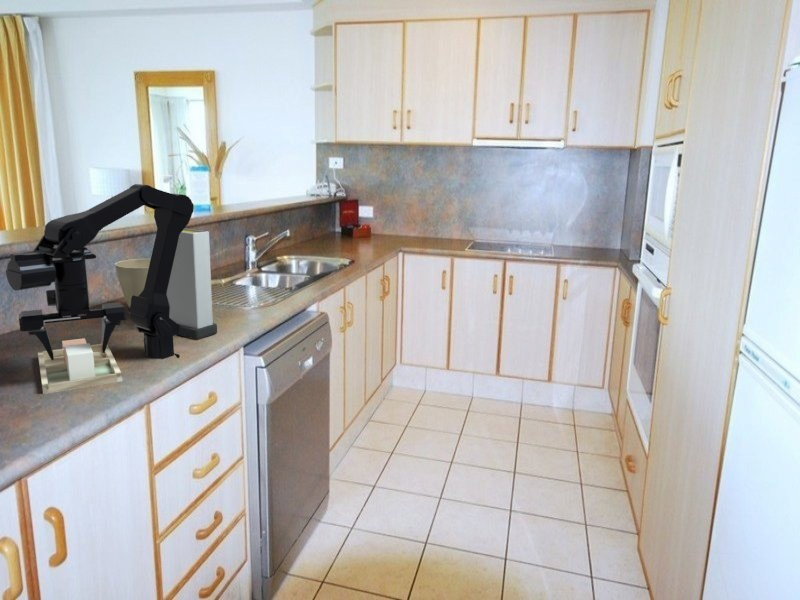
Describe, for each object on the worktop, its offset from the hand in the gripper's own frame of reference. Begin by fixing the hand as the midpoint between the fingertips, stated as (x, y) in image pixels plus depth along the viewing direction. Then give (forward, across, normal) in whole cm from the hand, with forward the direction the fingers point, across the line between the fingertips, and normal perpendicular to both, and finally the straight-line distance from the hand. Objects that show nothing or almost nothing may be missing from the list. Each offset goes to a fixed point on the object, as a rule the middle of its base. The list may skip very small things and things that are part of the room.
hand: (78, 355), depth 116 cm
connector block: (+5, 0, 0) cm, 5 cm away
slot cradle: (+6, 0, -6) cm, 8 cm away
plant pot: (+6, -22, -49) cm, 54 cm away
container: (+6, -28, -25) cm, 38 cm away
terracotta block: (+5, 0, -11) cm, 12 cm away
